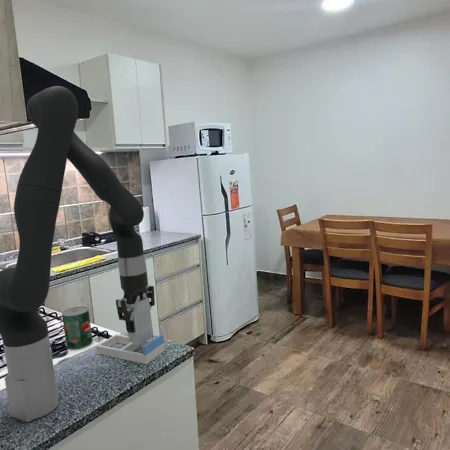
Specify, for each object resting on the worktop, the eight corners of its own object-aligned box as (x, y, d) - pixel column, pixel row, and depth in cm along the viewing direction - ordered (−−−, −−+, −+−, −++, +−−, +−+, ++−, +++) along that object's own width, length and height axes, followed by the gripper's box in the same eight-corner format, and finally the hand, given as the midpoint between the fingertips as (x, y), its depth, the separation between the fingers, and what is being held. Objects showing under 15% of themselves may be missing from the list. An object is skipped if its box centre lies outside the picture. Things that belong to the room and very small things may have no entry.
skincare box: (144, 334, 118) (139, 295, 116) (154, 337, 116) (149, 297, 114) (128, 342, 114) (122, 302, 112) (137, 345, 111) (132, 304, 109)
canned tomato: (95, 344, 124) (90, 311, 123) (68, 352, 120) (63, 317, 119) (89, 336, 131) (85, 304, 129) (64, 343, 127) (59, 310, 126)
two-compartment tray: (146, 364, 109) (144, 347, 108) (96, 353, 118) (94, 338, 117) (164, 350, 117) (163, 334, 116) (117, 341, 125) (115, 326, 125)
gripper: (126, 279, 103) (133, 339, 106) (159, 265, 116) (165, 319, 119) (104, 277, 107) (112, 335, 110) (139, 263, 120) (145, 316, 122)
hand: (139, 327), depth 114 cm, fingers closed on skincare box, 6 cm apart
